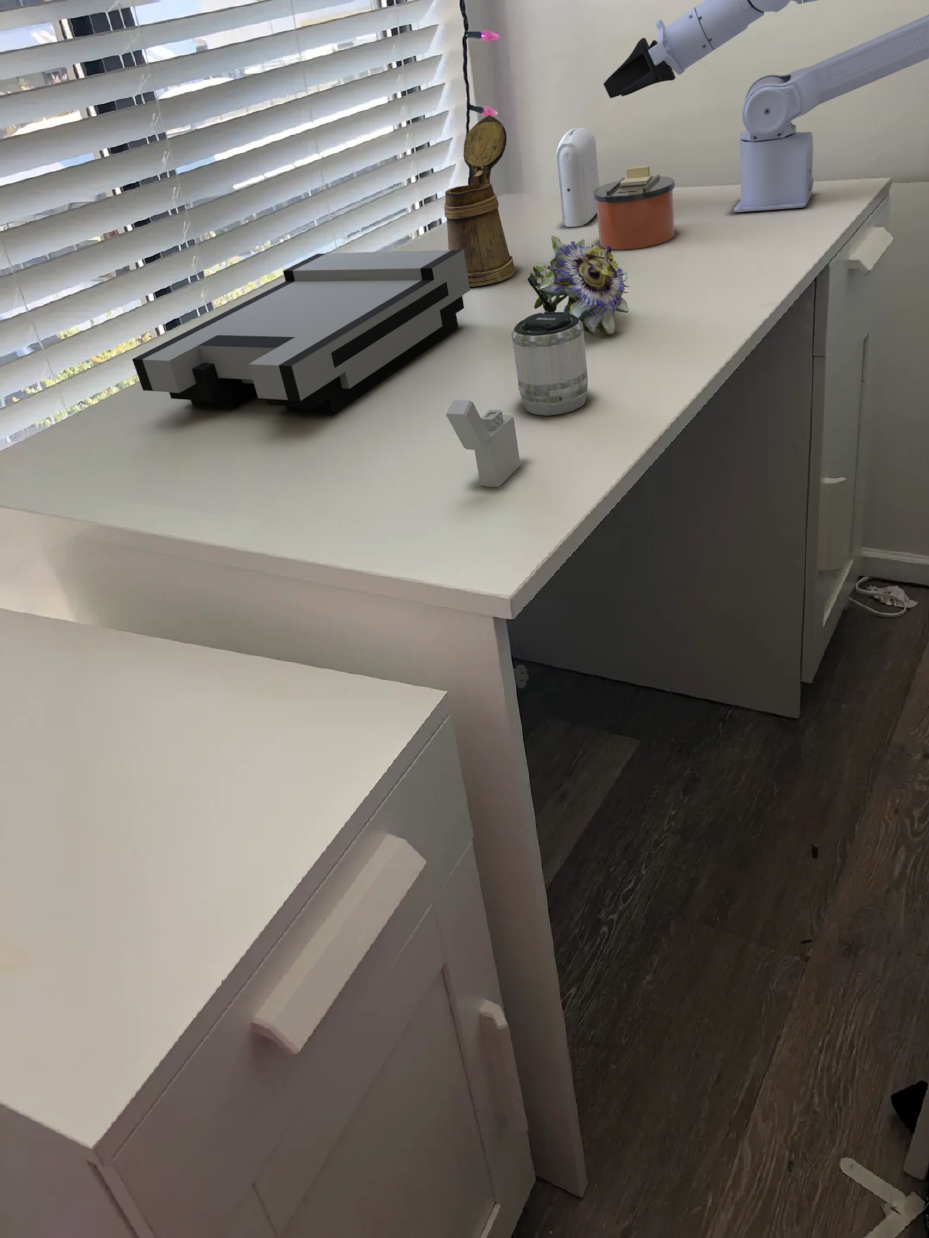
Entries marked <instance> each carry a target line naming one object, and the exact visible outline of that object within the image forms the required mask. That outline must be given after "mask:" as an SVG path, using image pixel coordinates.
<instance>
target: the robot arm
mask: <svg viewBox="0 0 929 1238" xmlns="http://www.w3.org/2000/svg"><path fill="white" fill-rule="evenodd" d="M792 1H793V2H795V3H796V4H797V5H802V4H807V3H811V2H816V1H817V2H818V0H703V1H701V2H700V3H698V4H697V5H695V6H694V7H693V8H691V9H690V10H689V11H687V12H686V13H683V14H682V15H681V16H680V17H678V18H677V19H675V20H674V21H672V22H671V23H670V24H668V25H667V26H665V23H664V22H663V19H658V20H657V21H656V22H655V26H656V28H657V40H656V39H653V40H652V41H651V43H650V44H649V43H648V41H647V39H646V37H642V38H641V39H640V40H638V41H637V43H636V44H635V47H634V48H633V50H632V52H631V53H630V54H629V56H628V57H627V58H626V60H625V61H624V62H623V63H621V65H619V67H617V69H615V70H614V71H613V72H612V74H611V75H610V76H608V78H606V79H605V81H604V82H603V87H604V88H605V91H606V93H607V95H608V98H609V99H613V98H616V97H619V96H621V97H626V96H628V95H631V94H633V93H636V92H638V91H640V90H643V89H645V88H647V87H649V86H652V85H655V84H658V83H662V82H669V81H670V82H671V81H674V80H676V75H675V73H676V74H677V75H678V76H680V75H683V73H685V70H687V69H688V68H689V67H691V66H693V65H694V64H697V62H698V61H700V60H702V59H703V58H705V57H707V56H708V55H709V54H711V53H712V52H714V51H715V50H717V49H718V48H720V47H721V46H723V45H725V44H726V43H728V42H729V41H730V40H732V39H734V38H735V37H737V36H738V35H740V34H741V33H743V32H744V31H746V30H747V29H748V27H749V26H750V25H751V24H752V23H754V22H756V21H757V20H759V19H760V18H761V17H763V16H765V13H766V12H767V13H770V12H773V13H778V12H780V11H781V10H783V9H785V8H786V7H787V6H788V5H789V3H791V2H792ZM928 59H929V14H926V15H924V16H922V17H920V18H917V19H915V20H913V21H910V22H908V23H906V24H903V25H902V26H899V27H897V28H895V29H892V30H890V31H888V32H885V33H883V34H880V35H879V36H876V37H874V38H872V39H870V40H869V39H868V40H867V41H865V42H863V43H861V44H860V43H859V44H858V45H856V46H854V47H851V48H849V49H847V50H844V51H842V52H840V53H838V54H835V55H833V56H831V57H828V58H827V59H824V60H821V61H819V62H817V63H815V64H813V65H810V66H807V67H804V68H799V69H796V70H794V71H791V72H788V73H786V74H767V75H763V76H761V77H759V78H758V79H756V80H755V81H754V82H752V84H751V85H750V87H749V88H748V90H747V92H746V96H745V99H744V103H743V105H742V108H741V109H742V110H741V119H742V123H743V125H744V128H745V129H746V130H744V131H743V132H742V133H740V135H739V137H740V141H739V142H740V143H739V146H740V147H739V148H740V149H739V151H740V152H739V153H740V200H739V201H738V203H737V204H736V206H735V207H734V208H733V212H734V213H742V212H743V213H744V212H746V213H747V212H759V211H771V210H773V211H775V210H784V209H785V210H787V209H797V208H799V209H800V208H805V207H806V206H807V204H808V202H809V201H810V199H811V197H812V194H813V187H814V177H813V164H814V163H813V161H814V159H813V158H814V157H813V156H814V139H813V138H814V136H813V133H812V131H797V125H796V124H793V122H792V121H794V120H795V119H797V118H799V117H802V116H805V115H806V114H808V113H809V112H810V111H812V110H813V109H815V108H816V107H818V106H819V105H822V104H824V103H826V102H828V101H831V100H833V99H835V98H839V97H840V96H843V95H845V94H848V93H850V92H852V91H854V90H857V89H859V88H861V87H862V88H863V87H865V86H867V85H869V84H871V83H874V82H876V81H878V80H881V79H883V78H885V77H888V76H891V75H893V74H895V73H897V72H900V71H902V70H905V69H907V68H910V67H913V66H914V65H917V64H919V63H921V62H923V61H926V60H928Z"/></svg>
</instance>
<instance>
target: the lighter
mask: <svg viewBox="0 0 929 1238" xmlns="http://www.w3.org/2000/svg"><path fill="white" fill-rule="evenodd" d="M445 416H446V418H447V420H448V421H449V423H450V425H451V427H452V428H453V430H454V433H455V434H456V436H457V437H458V438H457V439H459V441H460V443H461V445H462V447H463V449H465V450H471V451H474V455H475V462H476V466H477V472H478V480H479V485H480V486H481V487H488V488H499V487H501V486H502V485H503V484H504V483H505V482H506V481H507V480H508V479H509V478H510V477H511V476H512V475H513V474H514V473H515V472H516V471H517V470H518V469H519V468H520V467H521V459H520V452H519V445H518V439H517V431H516V424H515V418H514V415H512V414H503V410H501V409H498V408H496V409H489V410H487V411H486V412H485V413H484V414H483V415H482V416H481V415H480V414H479V412H478V410H477V408H476V406H475V404H474V402H473V401H471V400H469V399H453V400H452V401H451V403H450V405H449V408H448V410H447V412H446V414H445Z"/></svg>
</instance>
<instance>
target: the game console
mask: <svg viewBox="0 0 929 1238" xmlns="http://www.w3.org/2000/svg"><path fill="white" fill-rule="evenodd" d="M282 273H283V277H284V281H283V282H281V283H279V284H277V285H275V286H273V287H272V288H269V289H267V290H265V291H264V292H261V293H259V294H258V295H256V296H254V297H251V298H250V299H248V300H246V301H244V302H242V303H239V304H238V305H235V306H234V307H232V308H230V309H228V310H226V311H224V312H222V313H220V314H218V315H216V316H214V317H212V318H210V319H209V320H206V321H204V322H202V323H200V324H197V326H194V327H192V328H190V329H188V330H186V331H185V332H182V333H181V334H178V335H176V336H174V337H173V338H171V339H168V340H167V341H165V342H163V343H161V344H159V345H157V346H155V347H153V348H151V349H149V350H147V351H145V352H143V353H141V354H139V355H137V356H135V357H133V358H132V359H131V361H132V363H133V366H134V368H135V371H136V375H137V378H138V380H139V384H140V386H141V388H142V391H145V392H161V393H169V396H170V399H171V400H185V401H190V403H191V406H197V407H210V408H223V409H236V408H237V407H239V406H240V405H241V404H244V403H245V402H247V401H249V400H250V399H251V398H254V397H255V396H257V399H264V401H265V404H266V406H272V407H284V408H285V413H290V414H291V413H293V414H303V415H317V416H319V415H320V416H333V417H334V416H335V415H337V414H338V413H340V412H341V411H343V410H344V409H345V408H348V407H349V406H350V405H351V404H353V403H354V402H355V401H357V400H359V399H360V398H361V397H362V396H364V395H365V394H367V393H368V392H370V391H372V390H373V389H374V388H376V387H377V386H379V385H381V383H383V382H384V381H386V380H387V379H389V378H390V377H392V376H393V375H394V374H396V373H397V372H399V371H400V370H402V369H403V368H405V367H406V366H408V365H409V364H410V363H412V362H413V361H415V360H416V359H418V358H419V357H421V356H422V355H423V354H425V353H426V352H428V351H429V350H430V349H432V348H434V347H435V346H436V345H438V344H439V343H440V342H442V341H443V340H445V339H446V338H448V337H450V336H451V335H452V334H454V333H455V332H456V331H458V330H459V323H458V318H457V317H458V316H457V313H459V312H461V311H462V310H463V309H465V304H464V297H463V296H464V295H465V294H467V293H468V292H470V291H471V287H469V281H468V274H467V268H466V261H465V255H464V250H448V249H441V250H440V249H435V250H403V251H401V250H400V251H397V250H396V251H367V252H365V251H364V252H331V253H330V252H328V253H327V252H325V253H324V252H323V253H316V254H313V255H312V256H310V257H308V258H306V259H304V260H302V261H299V262H298V263H295V264H294V265H292V266H289V267H287V268H285V269H283V270H282Z"/></svg>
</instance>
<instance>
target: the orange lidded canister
mask: <svg viewBox="0 0 929 1238" xmlns="http://www.w3.org/2000/svg"><path fill="white" fill-rule="evenodd" d="M625 178H626V177H621V178H620V179H619V180H615V181H613V182H609V183H605V184H603V185H599V187H598V188H597V189H595V190H594V192H593V196H594V199H595V200H596V204H597V213H596V214H597V215H596V216H597V226H598V239H599V240H598V241H599V246H600V247H601V248H604V249H605V246H610V247H611V249H612V250H616V251H617V250H619V251H623V250H625V251H626V250H637V249H643V248H649V247H653V246H657V245H660V244H663V243H666V242H667V241H670V240H672V239H673V238H674V236H675V212H674V191H673V190H674V189H675V187H676V184H675V183H676V181H675V179H674V178H672V177H670V176H661V174H656V175H652V180H651V181H650V182H649V183H648V184H644V185H633V186H620V182H622V181H623V180H624V179H625Z"/></svg>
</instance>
